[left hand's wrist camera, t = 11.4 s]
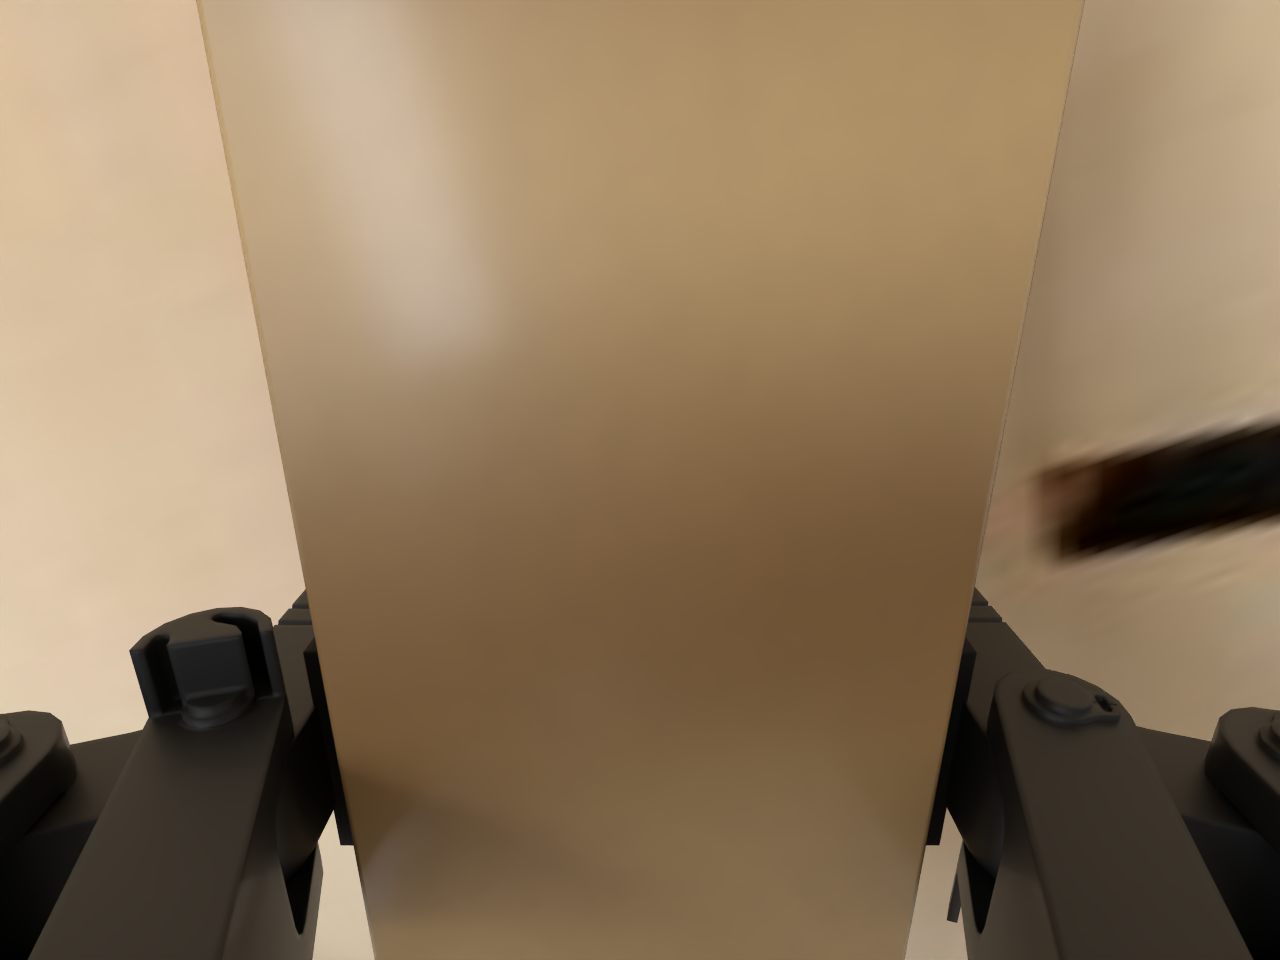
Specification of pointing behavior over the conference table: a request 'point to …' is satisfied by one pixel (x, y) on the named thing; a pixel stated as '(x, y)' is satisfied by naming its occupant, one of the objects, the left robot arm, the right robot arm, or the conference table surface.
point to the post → (640, 439)
